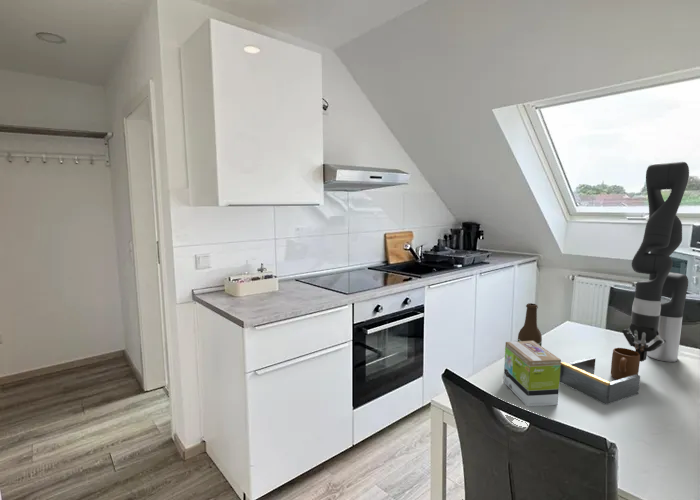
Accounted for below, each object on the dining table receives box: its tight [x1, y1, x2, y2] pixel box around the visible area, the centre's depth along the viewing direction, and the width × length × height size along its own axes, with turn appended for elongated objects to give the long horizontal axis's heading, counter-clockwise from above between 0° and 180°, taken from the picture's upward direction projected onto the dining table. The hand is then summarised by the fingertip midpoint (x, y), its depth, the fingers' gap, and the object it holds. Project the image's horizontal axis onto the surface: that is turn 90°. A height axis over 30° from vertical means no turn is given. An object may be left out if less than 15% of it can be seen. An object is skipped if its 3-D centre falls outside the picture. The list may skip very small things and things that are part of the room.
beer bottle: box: [517, 303, 543, 346], centre depth 135 cm, size 8×8×24 cm
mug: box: [610, 347, 641, 380], centre depth 128 cm, size 12×8×9 cm, turn 138°
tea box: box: [503, 340, 562, 407], centre depth 118 cm, size 15×10×15 cm
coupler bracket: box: [559, 356, 641, 405], centre depth 123 cm, size 16×15×7 cm
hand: (640, 360), depth 131 cm, fingers closed
